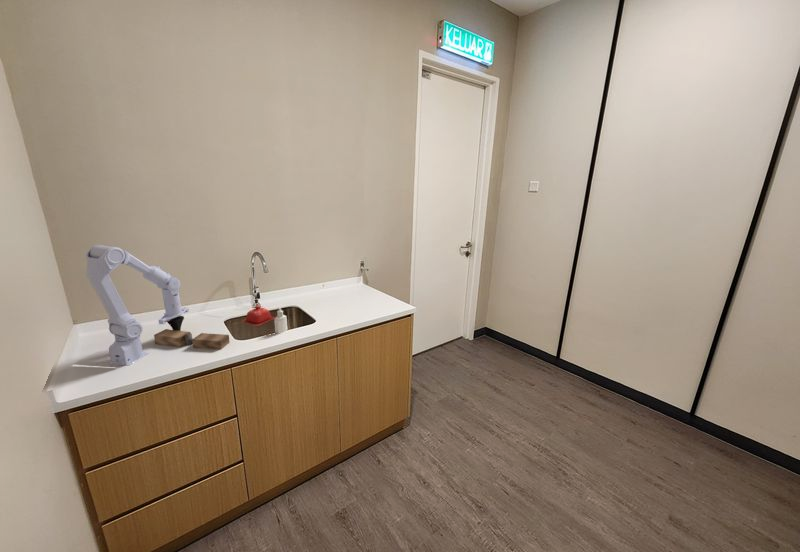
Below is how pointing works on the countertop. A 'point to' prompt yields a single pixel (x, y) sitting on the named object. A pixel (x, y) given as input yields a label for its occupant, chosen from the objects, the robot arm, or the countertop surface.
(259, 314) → the butter dish
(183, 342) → the swing leaf
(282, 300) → the countertop surface
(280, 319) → the eye dropper bottle
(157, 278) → the robot arm
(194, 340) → the oblong wooden brick
